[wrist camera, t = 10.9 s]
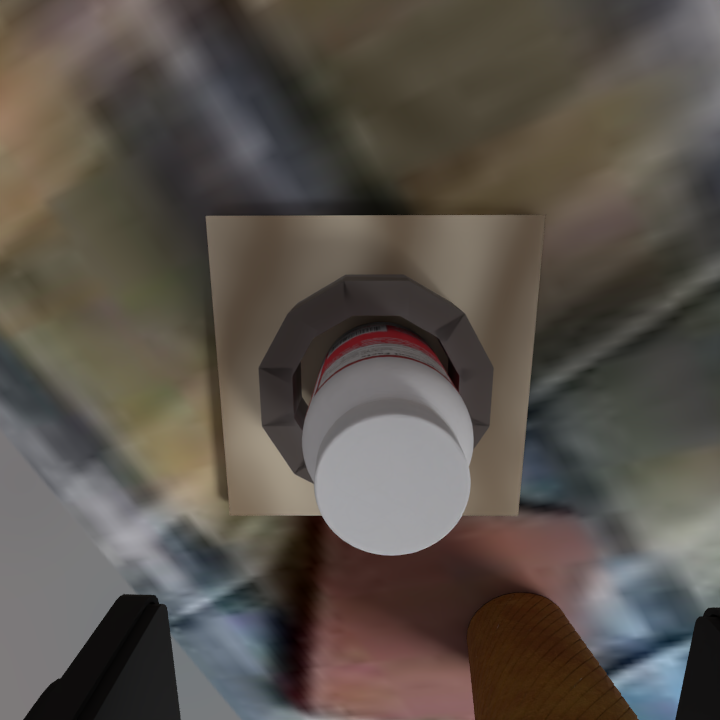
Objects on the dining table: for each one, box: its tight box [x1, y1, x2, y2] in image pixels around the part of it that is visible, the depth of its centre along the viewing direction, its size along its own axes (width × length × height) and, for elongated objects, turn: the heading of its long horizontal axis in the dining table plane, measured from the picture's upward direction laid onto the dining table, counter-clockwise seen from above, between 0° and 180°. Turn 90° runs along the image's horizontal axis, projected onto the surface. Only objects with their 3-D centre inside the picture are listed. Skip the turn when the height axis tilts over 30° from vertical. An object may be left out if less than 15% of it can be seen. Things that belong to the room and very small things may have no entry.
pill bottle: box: [302, 322, 474, 556], centre depth 20 cm, size 6×6×11 cm
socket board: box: [206, 215, 546, 516], centre depth 24 cm, size 16×16×4 cm
